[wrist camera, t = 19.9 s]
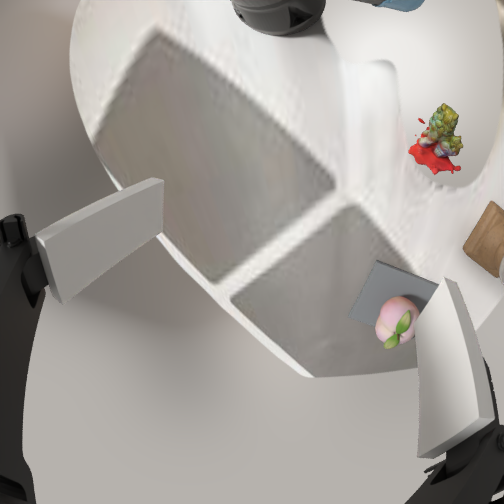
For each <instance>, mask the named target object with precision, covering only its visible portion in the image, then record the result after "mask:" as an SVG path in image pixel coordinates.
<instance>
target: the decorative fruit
mask: <svg viewBox="0 0 504 504" xmlns="http://www.w3.org/2000/svg"><path fill="white" fill-rule="evenodd" d="M419 315H420V314H419V311H418V309H417V307H416V306H415V304H414V303H413V302H411V301H410V300H409V299H407V298H405V297H402V296H396V297H393V298H391V299H389V300H388V301H386V302H385V303H384V305H383V306H382V308H381V310H380V315H379V317H378V319H377V322H376V328H375V330H376V334H377V336H378V338H379V339H380V340H381V341H382V342H384V348H386V349H390V348H393V347H395V346H397V345H398V344H402V343H405V342H407V341H409V340H410V339H411V338H412V337H413V336H414V335H415V330H414V323H415V321H416V320H417V318H418V317H419Z"/></svg>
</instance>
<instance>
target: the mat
mask: <svg viewBox="0 0 504 504" xmlns="http://www.w3.org/2000/svg"><path fill="white" fill-rule="evenodd" d="M438 286H439V284H436V283H434V282H431V281H429V280H426V279H424V278H421V277H419V276H416V275H414V274H411V273H409V272H406V271H404V270H401V269H399V268H396V267H394V266H391V265H388V264H386V263H383V262H381V261H378V260H376V262H375V264H374V267H373V269H372V271H371V273H370V275H369V277H368V279H367V281H366V283H365V285H364V287H363V289H362V291H361V293H360V295H359V297H358V298H357V300H356V302H355V304H354V306H353V308H352V310H351V311H350V313H349V315H348V318H351V319H354V320H357V321H360V322H363V323H365V324H368V325H371V326H374V327H376V322H377V319H378V317H379V315H380V310H381V308H382V306H383V305H384V303H385V302H386V301H388V300H389V299H391V298H393V297H396V296H402V297H405V298H407V299H409V300H410V301H411V302H413V303H414V304H415V306H416V307H417V309H418V311H419V314H421V313H422V311H423V310H424V308H425V307H426V305H427V303H428V302H429V300H430V299H431V297H432V296H433V294H434V292H435V291H436V289H437V288H438ZM414 336H415V335H414ZM414 336H413V337H414ZM413 337H412V338H413ZM412 338H411V339H412Z"/></svg>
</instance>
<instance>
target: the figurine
mask: <svg viewBox="0 0 504 504" xmlns="http://www.w3.org/2000/svg"><path fill="white" fill-rule="evenodd" d="M458 117H459V115H458V114H457V113H456V112H455V111H454V110H453V109H452V108H451V107H449V106H448V105H446V104H445V103H443V104H442V105H441V106H440V107H439V108H437V111H436V112H434V113H433V116H432V117H431V118H430V120H429V127H427V129H426V130H425V131H424V132H423V133H422V134H421V138H419V139H418V140H417V143H416V144H415V145H413V146H411V147H410V149H409V151H408V153H409V154H412V155H413V156H414V158H415V161H416V162H417V163H418V164H421V165H423V164H424V165H427V166H428V167H429V168H430V170H432V172H433V173H434V175H435V174H437V173H438V172H439V171H446V170H449V171H451V173H452V174H453V170H455V171H460V170H461V167H460V166H456V167H455V166H454V165H453V164H452V163H451V161H450V160H449V157H448V156H456V155H458V154H459V151H460V148H463V144H462V143H461V136H454V130H455V128H456V125H457V122H458ZM418 120H419V121H420V122H421V123H423V124H425V122H424V121H423V120H422V119H420V118H419V119H418ZM415 136H416V135H415ZM419 152H420V153H419Z"/></svg>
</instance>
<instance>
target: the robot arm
mask: <svg viewBox="0 0 504 504" xmlns="http://www.w3.org/2000/svg"><path fill="white" fill-rule="evenodd" d="M230 1H232V4H233V7H234V10H235V12H236V14H237V16H238V17H239V18H240V19H241V20H242V21H243V22H244V23H245V24H246V25H248V26H249V27H251V28H252V29H254V30H256V31H258V32H261V33H264V34H269V35H288V34H293V33H297V32H300V31H302V30H304V29H306V28H308V27H310V26H311V25H312V24H314V23H315V22H316V21H317V20H318V19H319V18H320V16H321V15H322V13H323V11H324V8H325V3H326V0H230ZM355 1H360V2H365V3H370V4H372V5H373V6H375V7H387V8H391V9H395V10H399V11H403V12H408V11H412V10H415V9H417V8H418V7H420V6H421V4H422V3H423V2H424V0H355ZM163 198H164V180H161V179H157V178H153V177H152V178H149V179H147V180H144V181H142V182H139V183H137V184H134V185H132V186H130V187H127V188H125V189H123V190H121V191H118V192H116V193H114V194H112V195H109V196H107V197H105V198H103V199H101V200H99V201H96V202H94V203H92V204H90V205H88V206H86V207H84V208H82V209H80V210H78V211H76V212H74V213H72V214H70V215H68V216H66V217H65V218H63V219H61V220H59V221H57V222H55V223H54V224H52V225H50V226H48V227H47V228H45V229H43V230H41V231H39V232H38V233H36V234H34V235H35V236H34V237H31V238H30V239H29V236H28V232H27V227H26V223H25V218H24V215H22V214H13V215H9V216H7V217H5V218H3V219H1V220H0V504H36V499H35V493H34V484H33V478H32V473H31V471H30V468H29V466H28V465H27V463H26V461H25V460H24V457H23V451H22V430H23V429H22V428H23V409H24V398H25V387H26V381H27V374H28V366H29V361H30V356H31V351H32V346H33V341H34V337H35V332H36V328H37V324H38V319H39V316H40V312H41V309H42V306H43V302H44V299H45V294H46V292H45V289H44V287H45V286H47V285H48V284H49V287H50V289H51V293H52V295H53V297H54V298H55V299H57V300H58V301H59V302H60V303H61V304H62V305H63V304H65V303H66V302H67V301H69V300H70V299H71V298H72V297H74V296H75V295H76V294H77V293H79V292H80V291H81V290H82V289H84V288H85V287H86V286H88V285H89V284H90V283H92V282H93V281H94V280H95V279H97V278H98V277H99V276H101V275H102V274H103V273H105V272H106V271H107V270H108V269H110V268H111V267H112V266H114V265H115V264H117V263H118V262H120V261H121V260H122V259H124V258H125V257H126V256H128V255H129V254H131V253H132V252H133V251H135V250H136V249H138V248H139V247H140V246H142V245H143V244H145V243H146V242H148V241H149V240H151V239H152V238H153V237H155V236H156V235H158V234H159V233H161V232H162V231H163ZM414 330H415V339H416V349H417V360H418V374H419V375H418V376H419V438H418V452H417V457H419V458H431V459H434V458H436V457H438V456H439V455H441V454H443V453H445V452H446V459H445V460H443V461H442V462H439V463H437V464H435V465H434V466H431V467H429V468H428V469H426V470H425V471H424V473H427V472H430V471H432V470H434V471H433V472H432V473H431V474H430V475H428V478H427V479H426V481H425V482H424V483H423V484H422V485H421V487H420V488H419V489H418V490H417V491H416V492H415V493H414V494H413V495H412V496H411V497H410V499H409V500H408V501H407V502H406V503H405V504H504V495H503V497H502V498H499V499H497V500H495V501H491V499H492V496H493V495H495V494H497V493H499V492H501V491H503V490H504V425H500V424H499V418H498V410H497V404H496V399H495V393H494V391H493V389H494V388H493V383H492V382H491V380H492V379H491V375H490V370H489V367H488V365H487V363H486V361H485V360H484V358H483V357H482V353H481V349H480V346H479V343H478V339H477V336H476V333H475V330H474V327H473V324H472V321H471V318H470V315H469V312H468V310H467V307H466V304H465V302H464V299H463V297H462V294H461V292H460V289H459V287H458V285H457V283H456V282H454V281H452V280H449V279H447V278H445V277H444V278H443V279H442V281H441V283H440V284H439V286H438V288H437V289H436V291H435V292H434V294H433V296H432V297H431V299H430V300H429V302H428V303H427V305H426V307H425V308H424V310H423V311H422V313H421V314H420V315H419V317H418V318H417V320H416V321H415V323H414Z"/></svg>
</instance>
